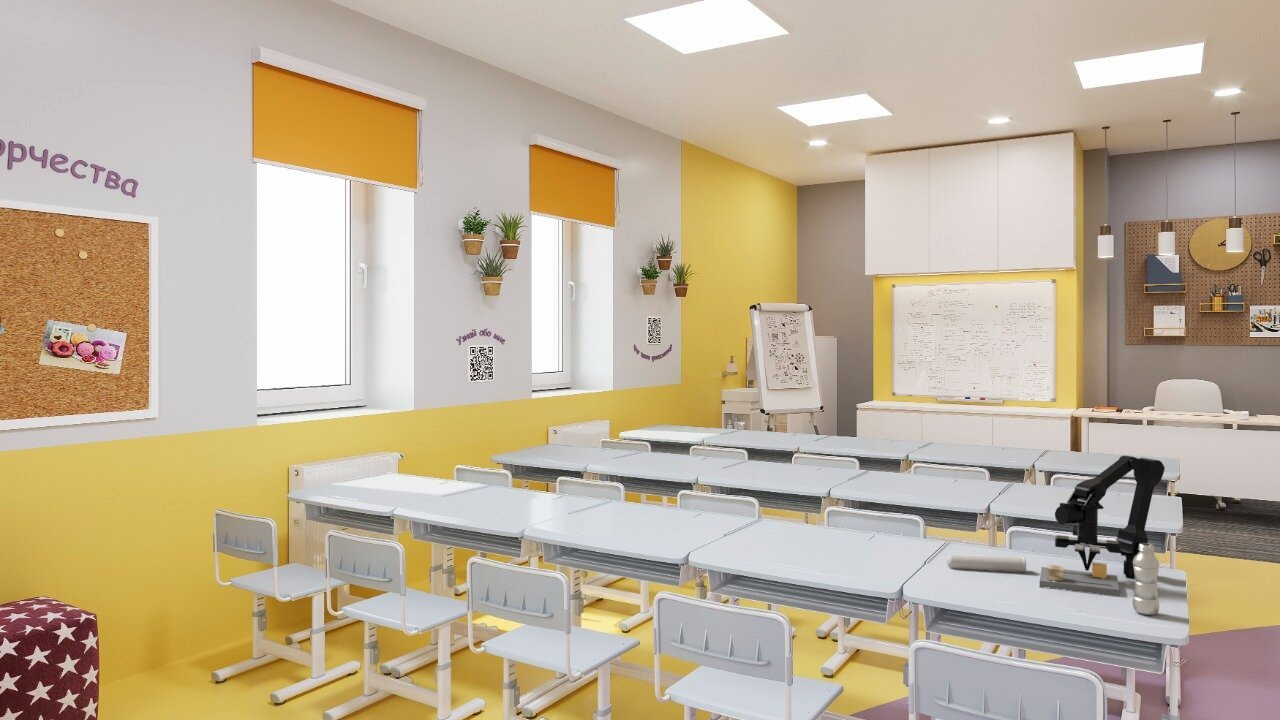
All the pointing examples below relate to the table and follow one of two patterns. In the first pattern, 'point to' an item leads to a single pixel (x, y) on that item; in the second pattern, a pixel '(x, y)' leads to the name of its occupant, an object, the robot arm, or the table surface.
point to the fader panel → (1081, 582)
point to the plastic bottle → (1146, 580)
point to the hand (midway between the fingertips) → (1087, 570)
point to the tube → (987, 563)
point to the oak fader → (1055, 572)
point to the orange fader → (1099, 570)
